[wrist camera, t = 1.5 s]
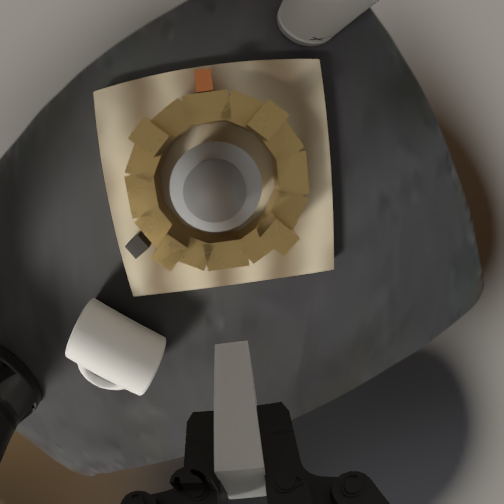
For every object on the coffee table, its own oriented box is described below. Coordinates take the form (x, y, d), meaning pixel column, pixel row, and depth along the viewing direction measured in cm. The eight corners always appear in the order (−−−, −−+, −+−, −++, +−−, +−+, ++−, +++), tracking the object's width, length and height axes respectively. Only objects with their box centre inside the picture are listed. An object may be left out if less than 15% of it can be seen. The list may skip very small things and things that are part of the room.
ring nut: (152, 267, 29) (140, 291, 25) (122, 92, 23) (102, 84, 18) (305, 247, 30) (320, 267, 25) (289, 68, 24) (303, 54, 19)
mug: (99, 285, 32) (73, 322, 25) (170, 325, 35) (160, 369, 27) (76, 348, 35) (55, 385, 28) (136, 380, 38) (125, 422, 30)
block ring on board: (137, 288, 33) (113, 337, 24) (100, 94, 25) (55, 80, 16) (328, 262, 34) (361, 304, 25) (313, 63, 26) (349, 36, 17)
